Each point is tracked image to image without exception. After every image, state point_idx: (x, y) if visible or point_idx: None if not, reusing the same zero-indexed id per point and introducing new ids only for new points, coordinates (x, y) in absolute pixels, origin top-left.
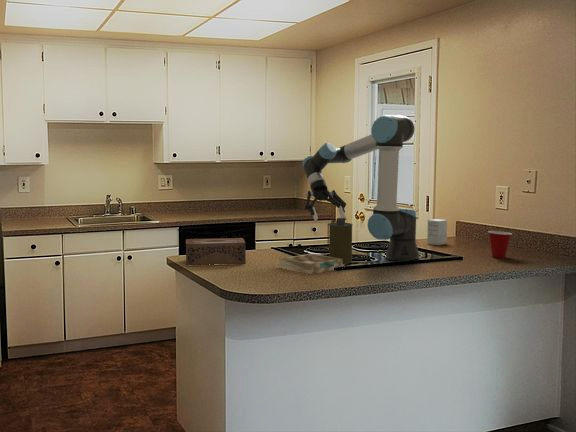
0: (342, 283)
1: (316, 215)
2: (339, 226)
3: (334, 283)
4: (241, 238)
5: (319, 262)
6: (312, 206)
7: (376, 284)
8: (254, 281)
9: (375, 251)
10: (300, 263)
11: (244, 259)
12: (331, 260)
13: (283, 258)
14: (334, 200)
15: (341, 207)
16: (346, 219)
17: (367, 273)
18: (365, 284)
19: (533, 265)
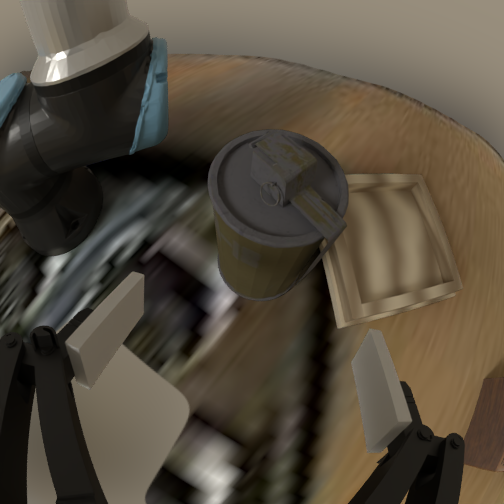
0: (380, 104)
1: (381, 347)
2: (320, 148)
3: (393, 112)
4: (500, 463)
5: (396, 177)
6: (412, 431)
7: (332, 74)
8: (497, 205)
9: None
10: (434, 208)
11: (494, 379)
12: (356, 177)
13: (455, 283)
14: (70, 436)
15: (81, 332)
16: (252, 144)
17: (290, 121)
18: (348, 82)
19: (28, 81)
